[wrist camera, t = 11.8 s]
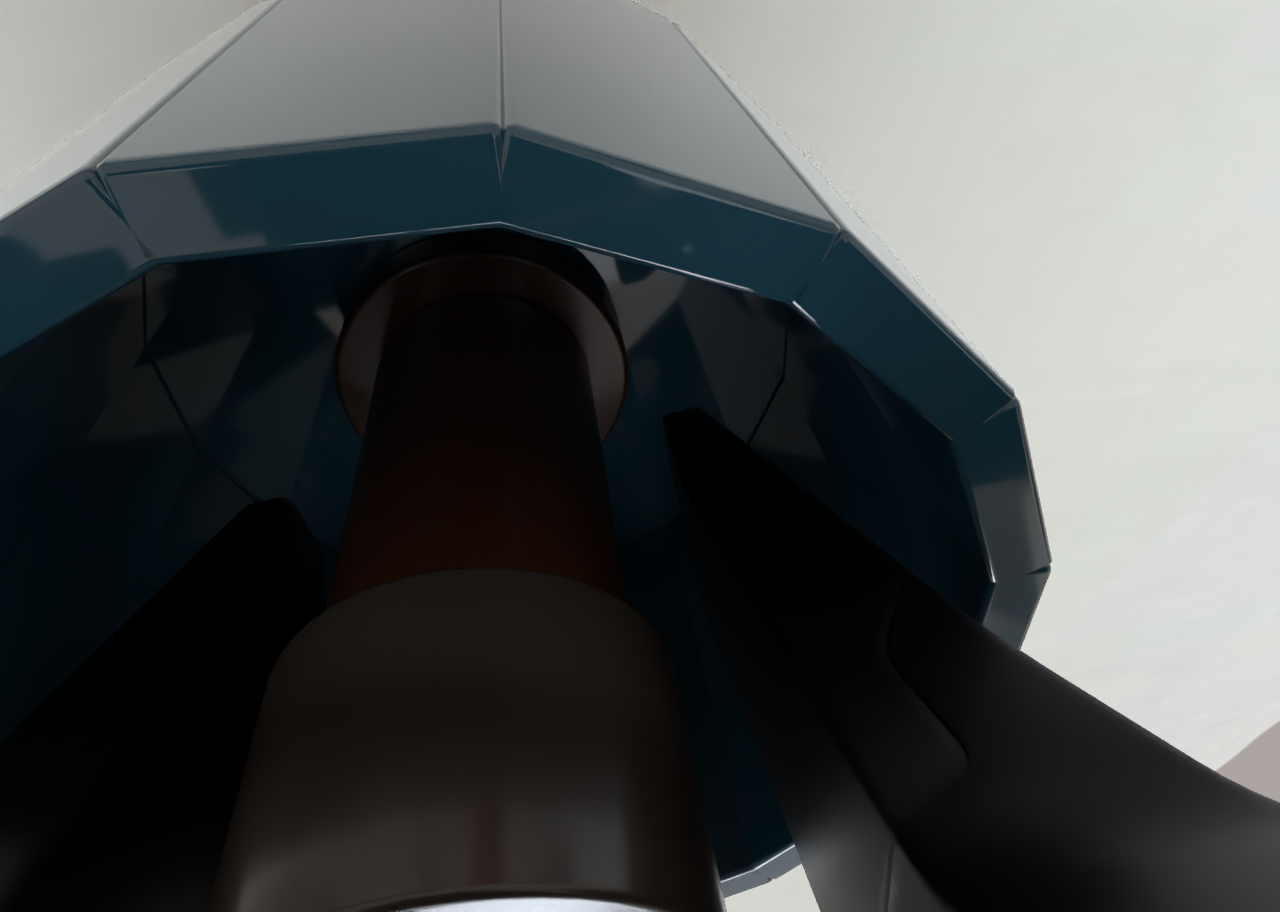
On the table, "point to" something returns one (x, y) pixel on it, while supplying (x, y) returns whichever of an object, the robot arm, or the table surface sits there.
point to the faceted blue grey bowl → (449, 204)
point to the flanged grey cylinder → (475, 628)
